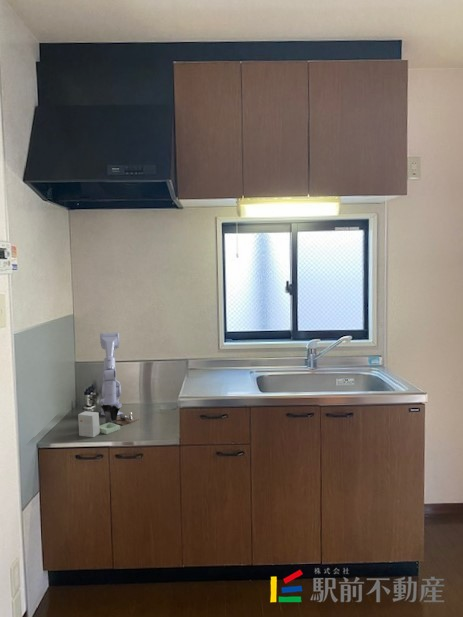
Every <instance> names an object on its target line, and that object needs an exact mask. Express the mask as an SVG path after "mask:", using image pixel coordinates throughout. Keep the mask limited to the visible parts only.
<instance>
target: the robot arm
mask: <svg viewBox="0 0 463 617" xmlns="http://www.w3.org/2000/svg"><path fill="white" fill-rule="evenodd" d="M99 337H100V339H99V341H100V347H101V349H103V350H104V351H105V358H104V359H103V371H102V381H103V383H102V385H101V386H102V388H101V396H102V398H101V399H99V403H100V405H101V406H100V408H101V413H100V415H101V416H105V411H108V410H110V412H111V417H112V421H115V420H116V418H117V417H118V416H120V415H124V413H123V412H121V411H120V409H121V408H123V407H122V406H123V405H122V404H123V403H121V402H120V398H121V397H122V386H121V382H120V381H119V380H117V368H116V356H115V354H116V349H118V348H120V332H101V333H100V335H99Z"/></svg>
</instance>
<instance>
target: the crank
mask: <svg viewBox="0 0 463 617" xmlns="http://www.w3.org/2000/svg"><path fill="white" fill-rule="evenodd" d="M119 417H120V419H128V420H131V421H132V420H134V418H135V417H133V412H131V411H130V412H128V415H127V414H120V415H119ZM132 417H133V418H132Z"/></svg>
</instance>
